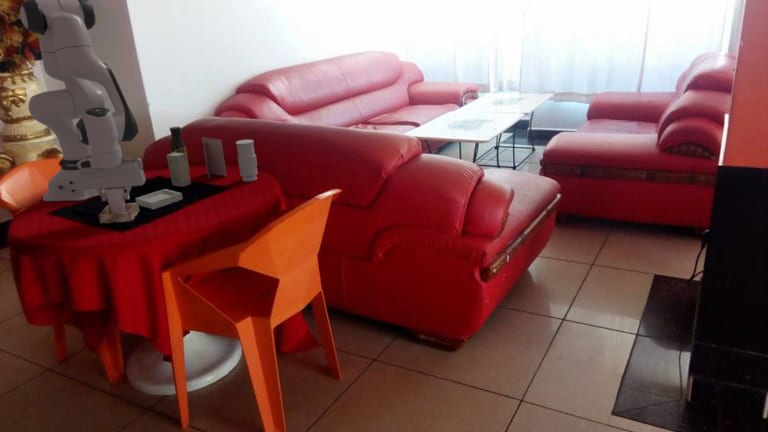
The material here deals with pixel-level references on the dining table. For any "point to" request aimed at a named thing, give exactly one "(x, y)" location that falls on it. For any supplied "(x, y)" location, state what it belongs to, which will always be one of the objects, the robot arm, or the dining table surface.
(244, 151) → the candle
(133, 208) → the frame
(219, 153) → the greeting card
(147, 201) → the tray
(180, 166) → the skincare box
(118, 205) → the smoothie
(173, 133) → the sauce bottle
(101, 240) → the dining table surface
